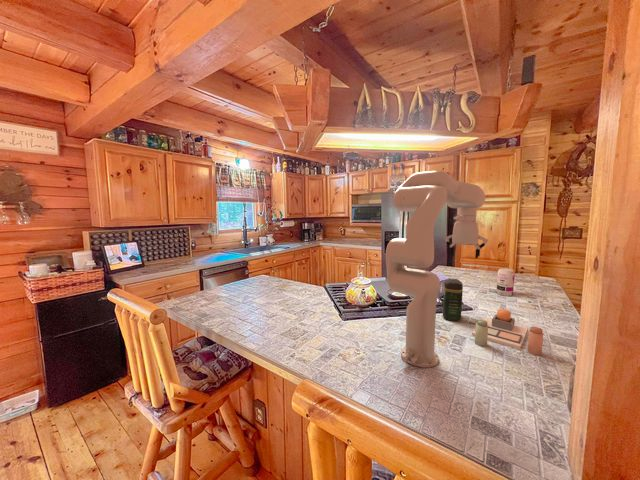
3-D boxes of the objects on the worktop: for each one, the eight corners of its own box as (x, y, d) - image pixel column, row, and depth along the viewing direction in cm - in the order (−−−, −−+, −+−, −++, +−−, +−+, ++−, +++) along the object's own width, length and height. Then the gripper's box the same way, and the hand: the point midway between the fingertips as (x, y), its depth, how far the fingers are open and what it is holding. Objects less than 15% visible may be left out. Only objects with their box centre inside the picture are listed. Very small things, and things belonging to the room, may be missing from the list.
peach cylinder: (540, 356, 92) (543, 332, 91) (526, 352, 95) (528, 329, 94) (542, 352, 95) (544, 328, 94) (528, 348, 98) (530, 325, 97)
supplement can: (512, 293, 158) (514, 268, 156) (513, 297, 151) (515, 272, 149) (496, 291, 162) (497, 267, 160) (496, 295, 155) (498, 270, 153)
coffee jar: (462, 322, 120) (464, 283, 118) (443, 320, 123) (444, 281, 121) (460, 314, 129) (461, 277, 126) (442, 312, 132) (443, 276, 129)
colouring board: (520, 349, 97) (521, 338, 97) (471, 335, 108) (472, 325, 108) (527, 330, 111) (528, 320, 111) (484, 319, 122) (484, 310, 122)
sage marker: (485, 347, 99) (487, 324, 98) (473, 343, 102) (474, 321, 101) (488, 343, 102) (489, 321, 101) (476, 340, 105) (477, 318, 103)
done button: (509, 323, 110) (509, 314, 109) (495, 320, 113) (496, 311, 113) (511, 320, 113) (511, 311, 113) (498, 317, 117) (498, 308, 116)
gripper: (443, 219, 120) (442, 256, 122) (488, 219, 109) (485, 260, 112) (447, 218, 126) (445, 253, 128) (490, 219, 115) (487, 257, 118)
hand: (464, 256), depth 120 cm, fingers open, 9 cm apart
